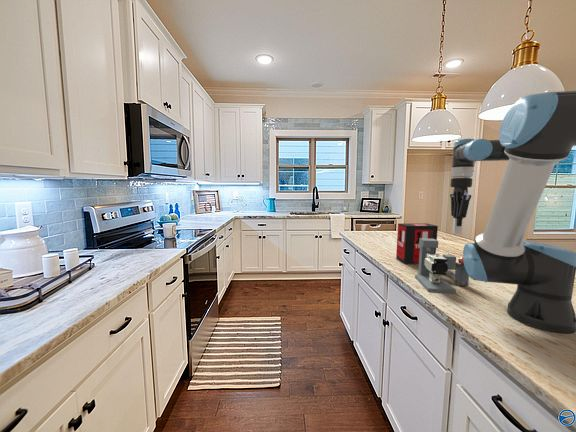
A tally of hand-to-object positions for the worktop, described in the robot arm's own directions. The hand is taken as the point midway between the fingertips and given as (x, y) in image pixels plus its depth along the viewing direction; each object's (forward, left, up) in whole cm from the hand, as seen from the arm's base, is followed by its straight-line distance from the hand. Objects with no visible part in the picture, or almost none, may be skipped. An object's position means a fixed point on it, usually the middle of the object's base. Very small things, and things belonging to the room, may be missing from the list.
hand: (456, 233), depth 109 cm
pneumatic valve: (-9, +11, -19) cm, 24 cm away
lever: (+1, 0, -20) cm, 20 cm away
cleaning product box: (+25, +8, -20) cm, 33 cm away
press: (-5, +7, -20) cm, 22 cm away
